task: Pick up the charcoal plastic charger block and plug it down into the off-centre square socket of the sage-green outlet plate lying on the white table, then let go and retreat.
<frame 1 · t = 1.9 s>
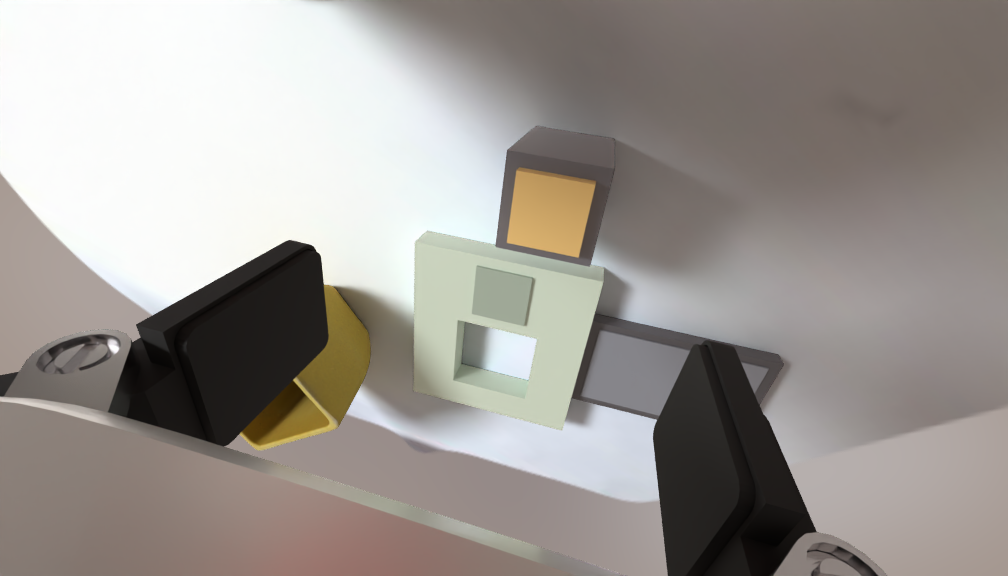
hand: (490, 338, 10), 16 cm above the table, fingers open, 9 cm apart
outlet plate: (501, 328, 30), on the table
phone slab: (665, 373, 29), on the table
flower pot: (334, 317, 34), on the table
charger block: (566, 171, 24), on the table
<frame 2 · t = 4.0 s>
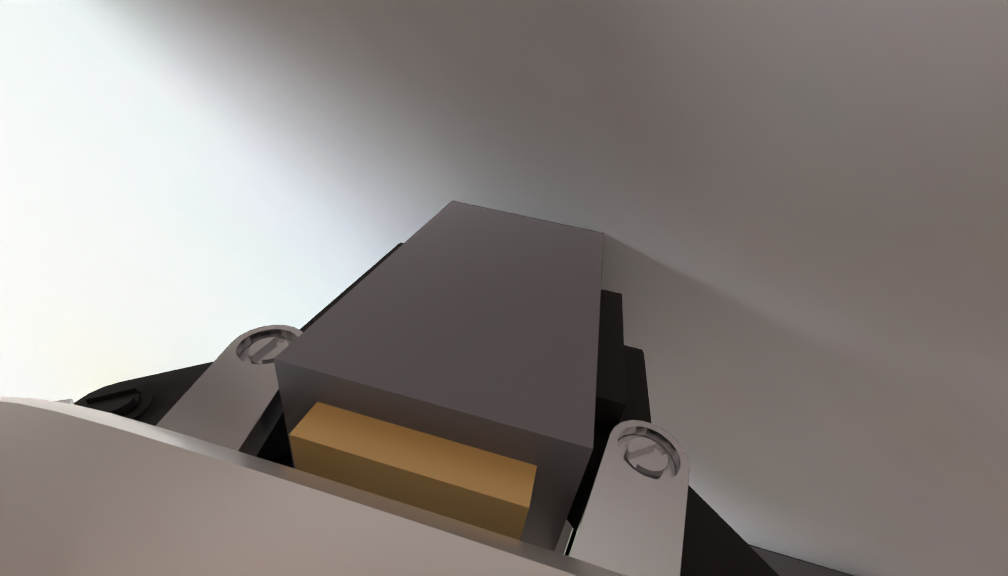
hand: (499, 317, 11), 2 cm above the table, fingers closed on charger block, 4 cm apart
charger block: (514, 283, 13), on the table, touching gripper
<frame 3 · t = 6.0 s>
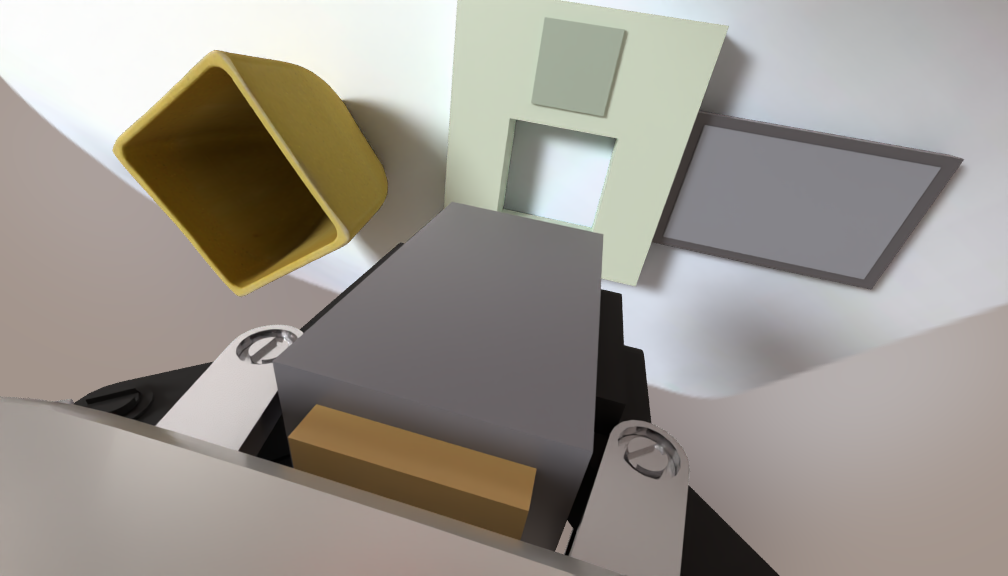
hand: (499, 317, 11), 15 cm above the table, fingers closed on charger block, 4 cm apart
outlet plate: (561, 146, 23), on the table
phone slab: (780, 199, 22), on the table
flower pot: (339, 153, 27), on the table
charger block: (514, 284, 13), point 13 cm above the table, touching gripper
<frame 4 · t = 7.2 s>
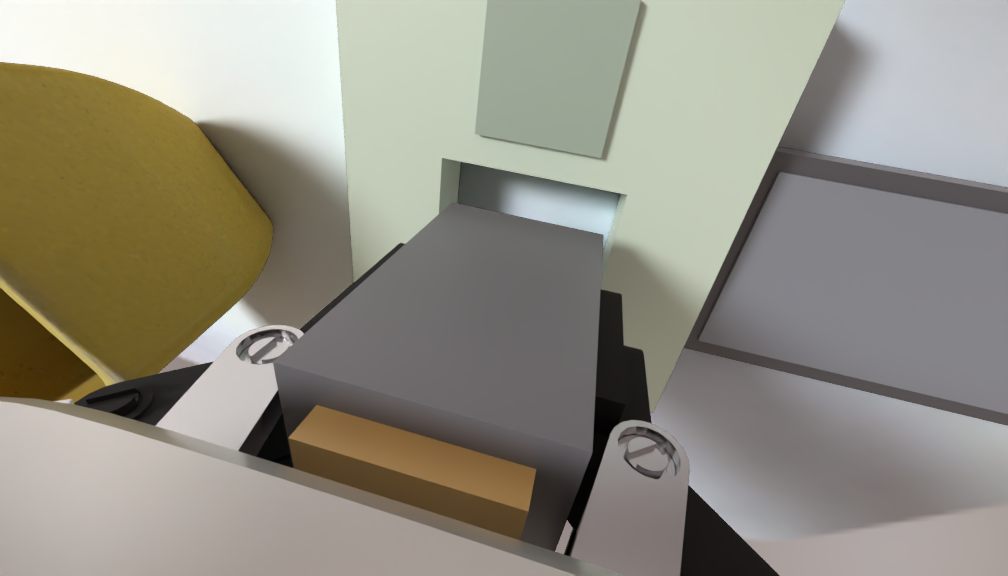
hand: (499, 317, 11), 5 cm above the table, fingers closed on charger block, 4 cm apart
outlet plate: (535, 198, 14), on the table
phone slab: (895, 287, 13), on the table
flower pot: (210, 199, 18), on the table
charger block: (514, 284, 13), point 3 cm above the table, touching gripper
when the fingers open (3 cm above the table, at t = 7.9 s): charger block stays where it is, resting in outlet plate.
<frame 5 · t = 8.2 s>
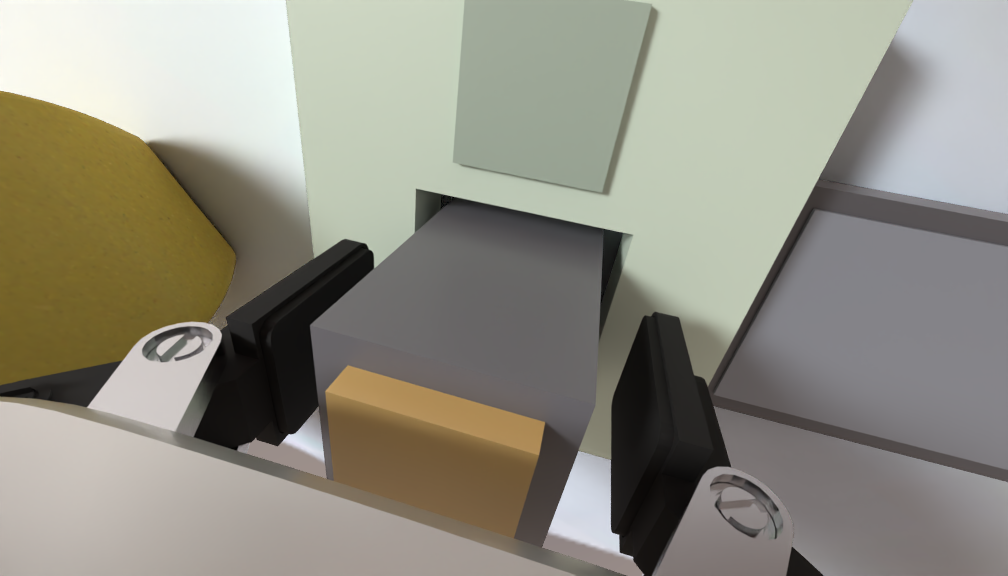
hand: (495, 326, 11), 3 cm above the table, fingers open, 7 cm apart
outlet plate: (526, 230, 13), on the table
phone slab: (945, 339, 11), on the table
flower pot: (168, 224, 16), on the table
charger block: (518, 271, 13), resting in outlet plate
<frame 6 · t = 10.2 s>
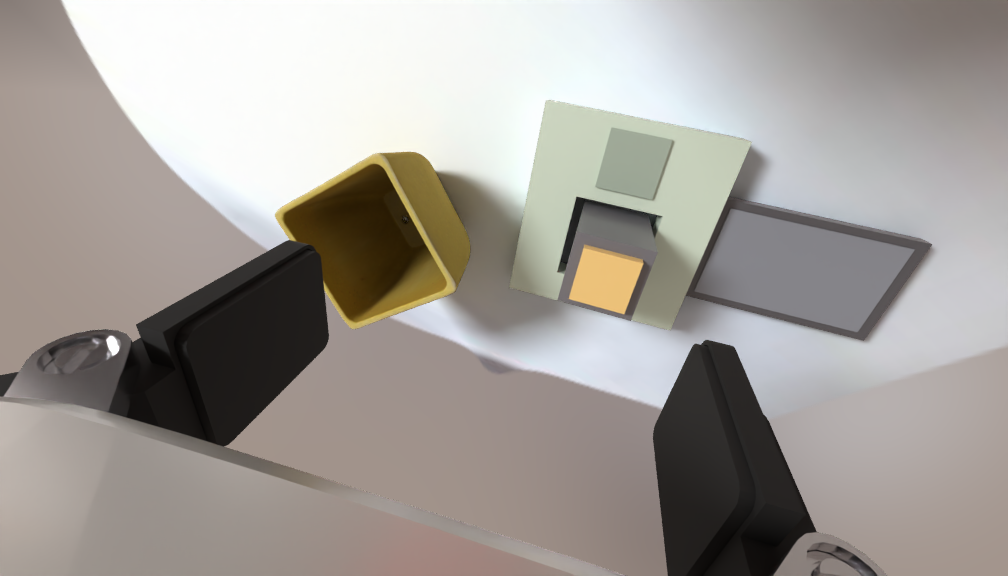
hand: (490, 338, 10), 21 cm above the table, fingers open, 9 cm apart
outlet plate: (613, 216, 29), on the table
phone slab: (789, 265, 28), on the table
flower pot: (425, 211, 32), on the table
charger block: (606, 236, 30), resting in outlet plate
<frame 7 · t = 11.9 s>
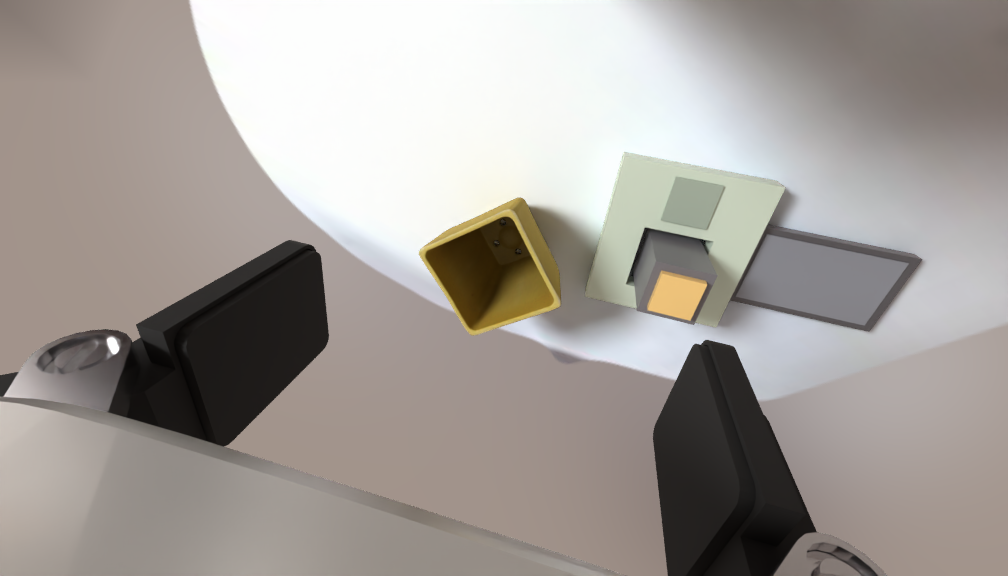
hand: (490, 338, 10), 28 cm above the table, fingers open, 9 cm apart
outlet plate: (670, 239, 36), on the table
phone slab: (811, 275, 35), on the table
flower pot: (512, 236, 40), on the table
charger block: (664, 254, 37), resting in outlet plate
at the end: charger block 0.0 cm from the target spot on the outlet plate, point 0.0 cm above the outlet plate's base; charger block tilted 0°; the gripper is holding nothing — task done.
